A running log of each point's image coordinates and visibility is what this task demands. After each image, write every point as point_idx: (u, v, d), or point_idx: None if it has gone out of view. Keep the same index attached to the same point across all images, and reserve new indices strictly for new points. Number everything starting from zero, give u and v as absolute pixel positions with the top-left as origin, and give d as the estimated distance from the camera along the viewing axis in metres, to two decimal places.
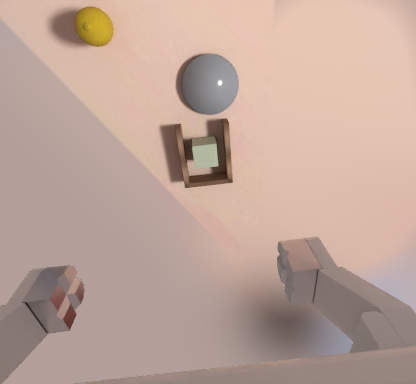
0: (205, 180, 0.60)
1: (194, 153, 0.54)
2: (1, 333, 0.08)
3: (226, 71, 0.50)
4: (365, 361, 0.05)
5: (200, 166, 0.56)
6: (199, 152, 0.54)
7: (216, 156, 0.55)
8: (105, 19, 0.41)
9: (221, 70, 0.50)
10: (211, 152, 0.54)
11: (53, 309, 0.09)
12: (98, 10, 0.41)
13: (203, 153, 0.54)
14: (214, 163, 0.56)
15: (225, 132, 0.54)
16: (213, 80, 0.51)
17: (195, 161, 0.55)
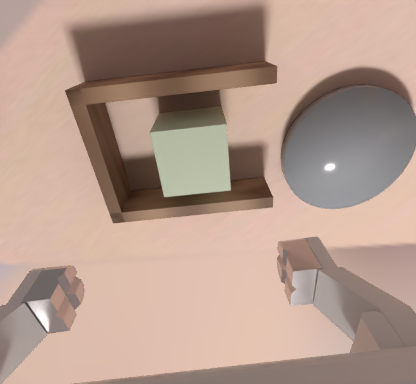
0: (105, 153, 0.20)
1: (203, 131, 0.17)
2: (1, 333, 0.08)
3: (367, 186, 0.24)
4: (365, 361, 0.05)
5: (159, 148, 0.18)
6: (206, 146, 0.18)
7: (193, 191, 0.20)
8: None
9: (373, 177, 0.24)
10: (206, 178, 0.19)
11: (53, 309, 0.09)
12: None
13: (203, 157, 0.18)
14: (172, 187, 0.19)
15: (250, 201, 0.22)
16: (358, 162, 0.23)
17: (176, 134, 0.17)
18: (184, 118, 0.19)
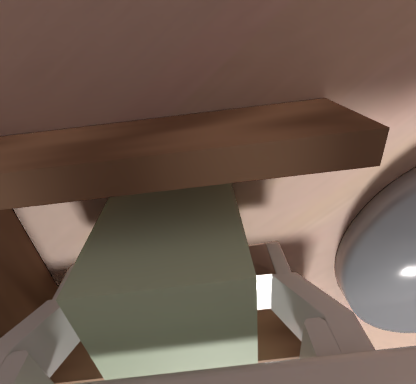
0: None
1: (197, 293, 0.07)
2: (50, 327, 0.08)
3: None
4: (365, 361, 0.05)
5: (88, 326, 0.07)
6: (205, 318, 0.07)
7: None
8: None
9: None
10: (204, 365, 0.08)
11: None
12: None
13: (197, 336, 0.08)
14: None
15: (289, 359, 0.11)
16: None
17: (126, 301, 0.07)
18: (154, 229, 0.09)
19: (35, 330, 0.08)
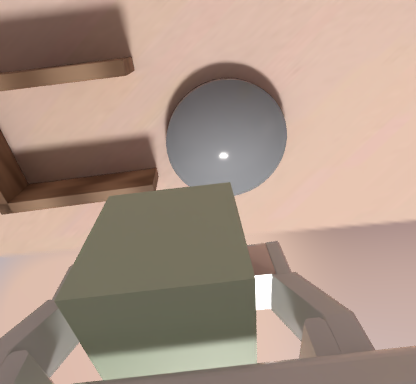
0: None
1: (196, 294, 0.07)
2: (50, 328, 0.08)
3: (252, 174, 0.26)
4: (365, 361, 0.05)
5: (87, 327, 0.07)
6: (204, 318, 0.07)
7: None
8: None
9: (254, 165, 0.25)
10: (203, 366, 0.08)
11: None
12: None
13: (196, 337, 0.08)
14: None
15: (132, 189, 0.23)
16: (237, 150, 0.24)
17: (125, 301, 0.07)
18: (153, 229, 0.09)
19: (35, 330, 0.08)
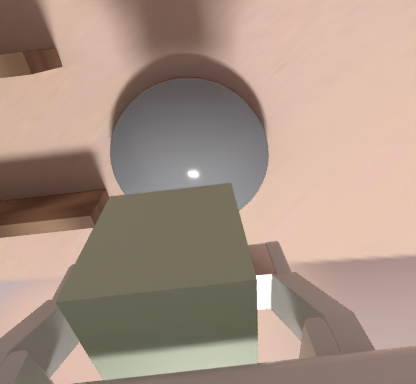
0: None
1: (197, 295, 0.07)
2: (50, 328, 0.08)
3: None
4: (365, 361, 0.05)
5: (88, 328, 0.07)
6: (205, 319, 0.07)
7: None
8: None
9: None
10: (204, 367, 0.08)
11: None
12: None
13: (197, 338, 0.08)
14: None
15: (64, 221, 0.18)
16: (204, 171, 0.19)
17: (126, 302, 0.07)
18: (154, 230, 0.09)
19: (35, 330, 0.08)
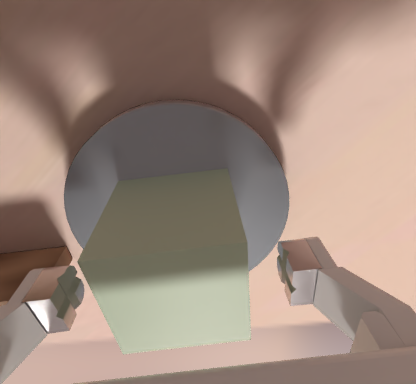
0: None
1: (197, 256, 0.08)
2: (1, 333, 0.08)
3: None
4: (365, 361, 0.05)
5: (103, 287, 0.08)
6: (204, 279, 0.08)
7: (179, 344, 0.10)
8: None
9: None
10: (203, 326, 0.10)
11: (53, 309, 0.09)
12: None
13: (197, 297, 0.09)
14: (136, 340, 0.10)
15: None
16: None
17: (137, 262, 0.08)
18: (159, 207, 0.10)
19: None
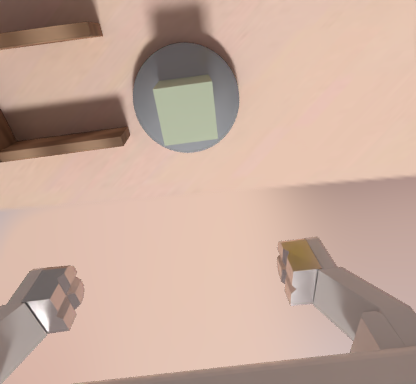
0: None
1: (194, 87, 0.22)
2: (1, 333, 0.08)
3: None
4: (365, 361, 0.05)
5: (160, 103, 0.23)
6: (197, 100, 0.23)
7: (188, 140, 0.24)
8: None
9: None
10: (197, 128, 0.24)
11: (53, 309, 0.09)
12: None
13: (195, 110, 0.23)
14: (170, 136, 0.24)
15: (103, 140, 0.27)
16: None
17: (173, 90, 0.22)
18: (179, 81, 0.24)
19: None
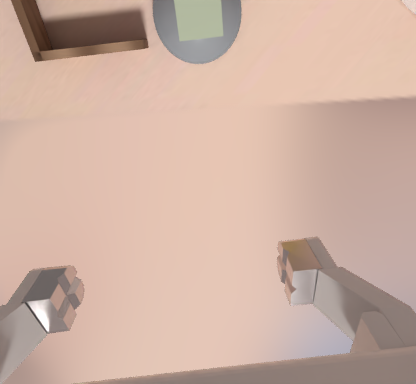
0: (23, 1, 0.30)
1: None
2: (1, 333, 0.08)
3: (217, 43, 0.35)
4: (365, 361, 0.05)
5: None
6: None
7: (199, 36, 0.30)
8: None
9: None
10: (207, 25, 0.29)
11: (53, 309, 0.09)
12: None
13: (205, 7, 0.28)
14: (185, 32, 0.30)
15: (127, 43, 0.32)
16: None
17: None
18: None
19: None
